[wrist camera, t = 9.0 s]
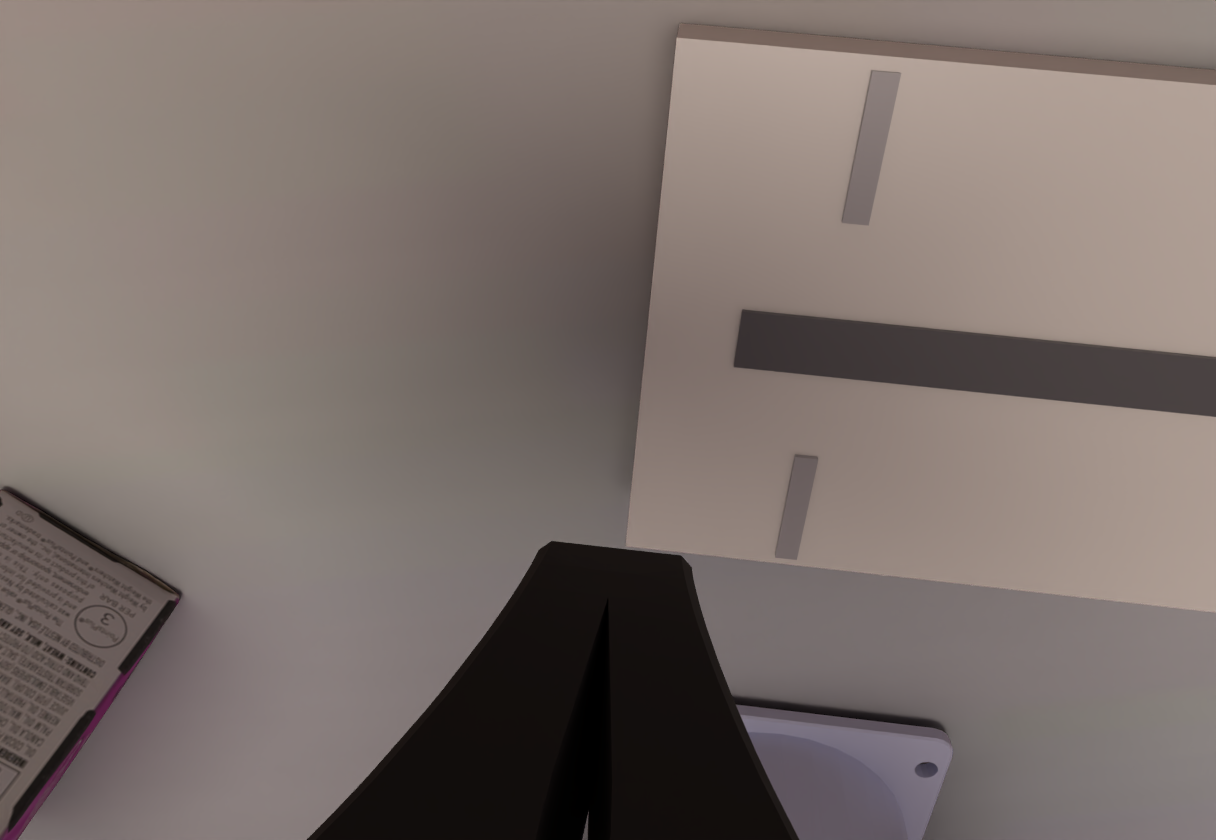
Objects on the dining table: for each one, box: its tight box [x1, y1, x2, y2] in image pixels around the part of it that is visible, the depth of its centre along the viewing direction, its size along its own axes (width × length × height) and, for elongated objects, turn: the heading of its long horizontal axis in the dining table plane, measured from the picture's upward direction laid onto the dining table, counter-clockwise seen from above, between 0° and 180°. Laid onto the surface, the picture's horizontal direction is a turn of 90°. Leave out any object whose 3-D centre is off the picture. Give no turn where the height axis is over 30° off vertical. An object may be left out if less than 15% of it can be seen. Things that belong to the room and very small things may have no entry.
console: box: [626, 23, 1216, 612], centre depth 16 cm, size 9×18×2 cm, turn 86°
